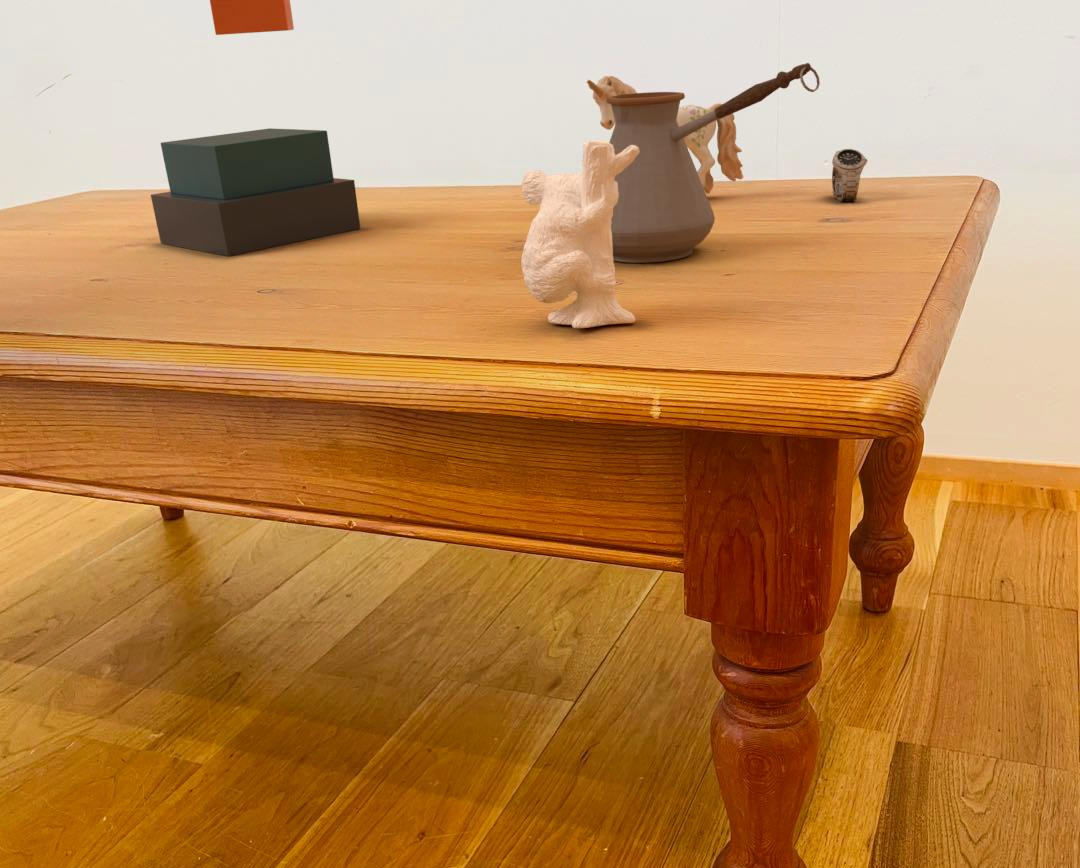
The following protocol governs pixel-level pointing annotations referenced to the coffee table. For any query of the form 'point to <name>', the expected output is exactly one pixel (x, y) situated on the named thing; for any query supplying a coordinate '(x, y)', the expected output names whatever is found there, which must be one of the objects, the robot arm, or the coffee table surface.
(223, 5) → the orange block
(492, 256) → the coffee table surface
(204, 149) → the box stack
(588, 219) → the koala figurine
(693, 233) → the coffee pot
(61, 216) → the coffee table surface
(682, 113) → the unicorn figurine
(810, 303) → the coffee table surface
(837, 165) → the wristwatch
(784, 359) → the coffee table surface
